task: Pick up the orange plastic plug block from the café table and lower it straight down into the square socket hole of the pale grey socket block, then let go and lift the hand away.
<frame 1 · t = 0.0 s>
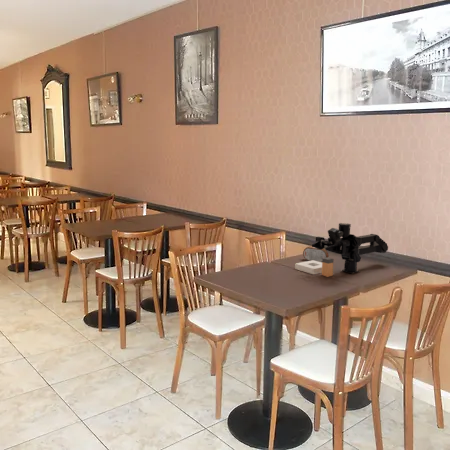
hand: (318, 247, 241), 17 cm above the table, tool horizontal, fingers open, 9 cm apart
socket block: (313, 269, 262), on the table
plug: (327, 275, 251), on the table
tin: (315, 261, 281), on the table
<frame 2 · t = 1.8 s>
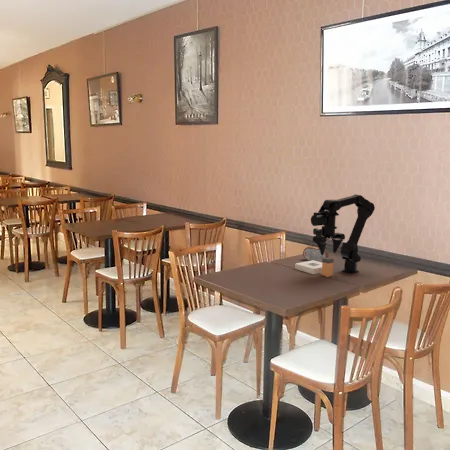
hand: (328, 254, 249), 11 cm above the table, tool pointing down, fingers open, 9 cm apart
nothing on the table moved.
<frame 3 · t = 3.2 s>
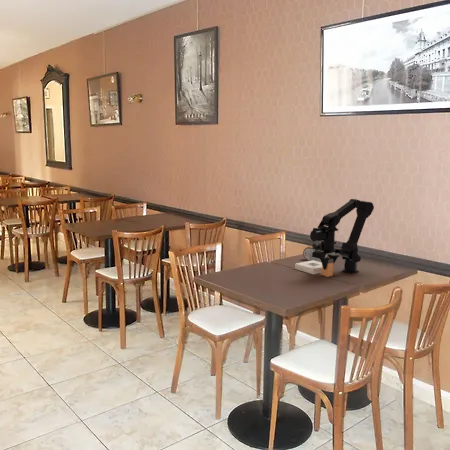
hand: (327, 268, 251), 3 cm above the table, tool pointing down, fingers closed on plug, 4 cm apart
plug: (327, 275, 251), on the table, touching gripper
everything else where it was.
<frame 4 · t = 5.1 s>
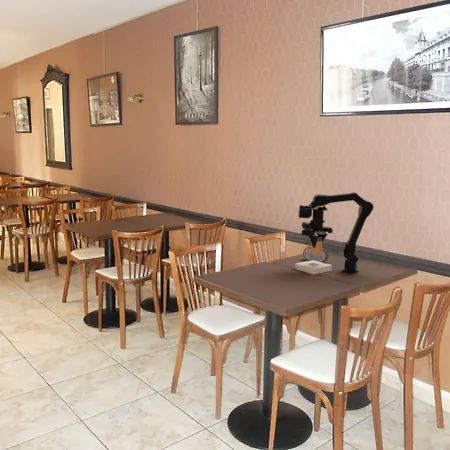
hand: (316, 247, 257), 13 cm above the table, tool pointing down, fingers closed on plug, 4 cm apart
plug: (316, 253, 258), point 10 cm above the table, touching gripper
everything else where it was.
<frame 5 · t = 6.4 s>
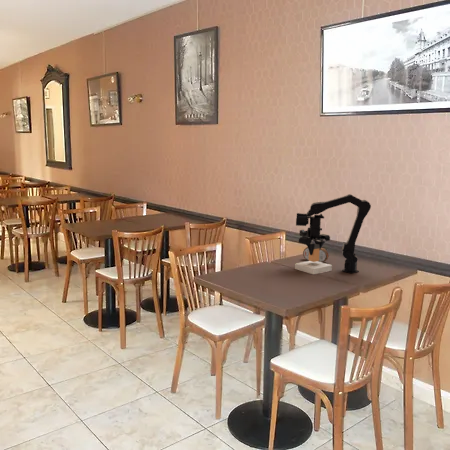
hand: (314, 254, 260), 9 cm above the table, tool pointing down, fingers closed on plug, 4 cm apart
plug: (313, 260, 261), point 5 cm above the table, touching gripper
everything else where it was.
when the fingers open (5 cm above the table, at t = 7.4 s): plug drops 1 cm, resting in socket block.
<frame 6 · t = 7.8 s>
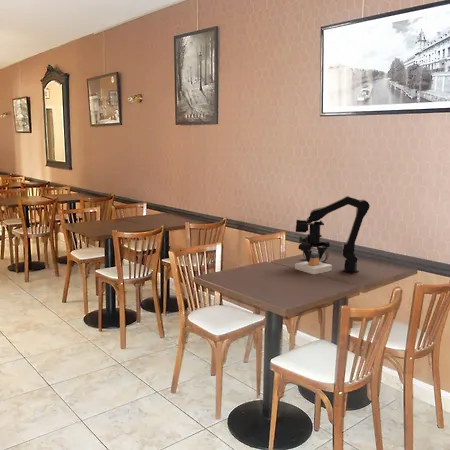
hand: (313, 261, 261), 5 cm above the table, tool pointing down, fingers open, 8 cm apart
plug: (313, 269, 262), resting in socket block
everything else where it was.
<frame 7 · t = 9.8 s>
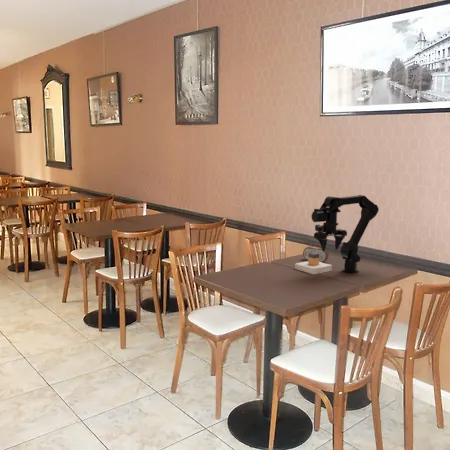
hand: (330, 250, 252), 13 cm above the table, tool pointing down, fingers open, 9 cm apart
nothing on the table moved.
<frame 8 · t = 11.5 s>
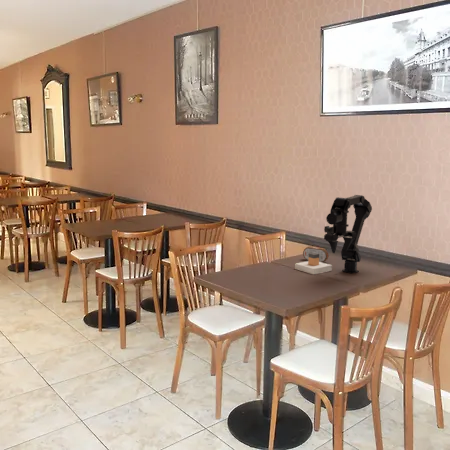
hand: (339, 252, 247), 13 cm above the table, tool pointing down, fingers open, 9 cm apart
nothing on the table moved.
at the end: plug 0.0 cm off-centre on the socket block, point 0.0 cm above the socket block's base; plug tilted 0°; the gripper is holding nothing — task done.
